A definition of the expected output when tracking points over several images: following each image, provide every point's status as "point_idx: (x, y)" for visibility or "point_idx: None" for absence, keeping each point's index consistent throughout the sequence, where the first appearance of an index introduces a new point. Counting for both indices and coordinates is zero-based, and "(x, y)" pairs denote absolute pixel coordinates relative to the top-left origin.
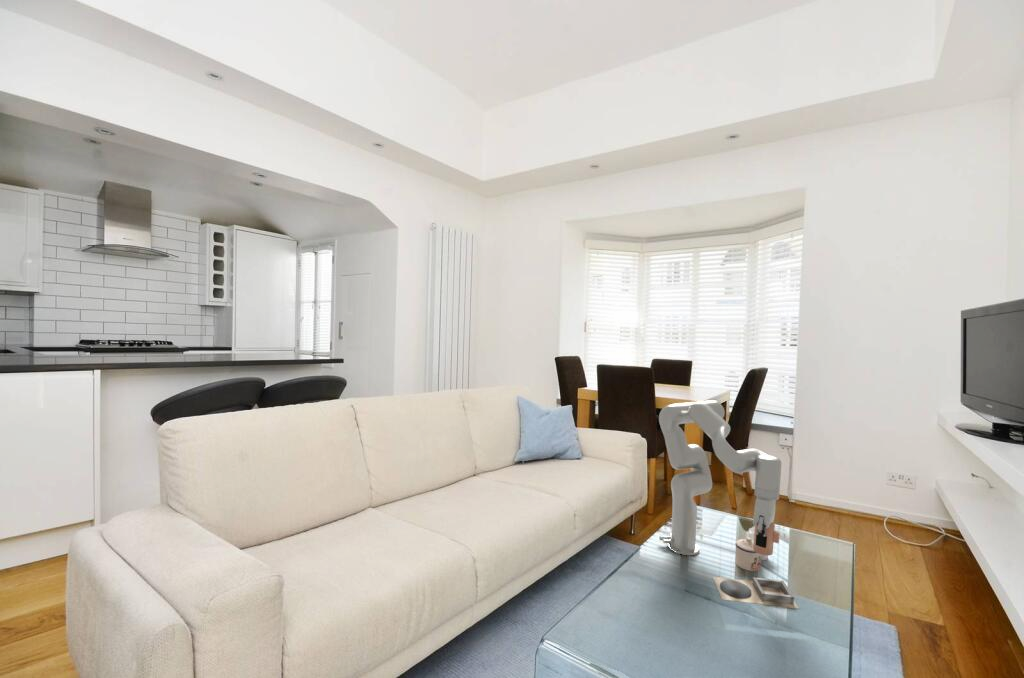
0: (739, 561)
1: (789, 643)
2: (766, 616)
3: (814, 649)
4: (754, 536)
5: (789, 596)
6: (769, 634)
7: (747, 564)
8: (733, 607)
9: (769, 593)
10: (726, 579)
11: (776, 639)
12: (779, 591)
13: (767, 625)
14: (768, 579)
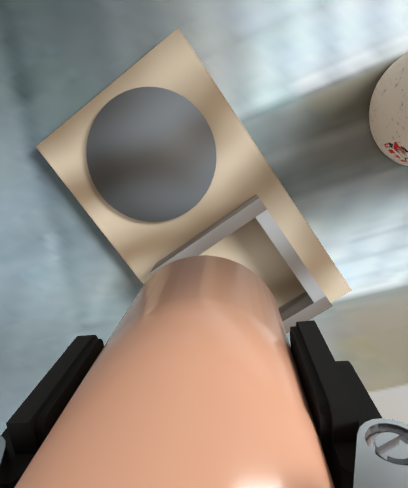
0: (394, 77)
1: (19, 381)
2: (97, 295)
3: None
4: (127, 327)
5: None
6: (10, 330)
7: (387, 124)
8: (52, 192)
9: None
10: (204, 90)
11: (5, 351)
12: (280, 292)
13: (50, 312)
14: (294, 256)
